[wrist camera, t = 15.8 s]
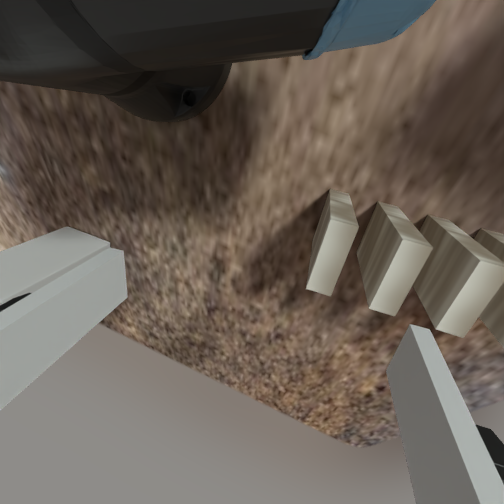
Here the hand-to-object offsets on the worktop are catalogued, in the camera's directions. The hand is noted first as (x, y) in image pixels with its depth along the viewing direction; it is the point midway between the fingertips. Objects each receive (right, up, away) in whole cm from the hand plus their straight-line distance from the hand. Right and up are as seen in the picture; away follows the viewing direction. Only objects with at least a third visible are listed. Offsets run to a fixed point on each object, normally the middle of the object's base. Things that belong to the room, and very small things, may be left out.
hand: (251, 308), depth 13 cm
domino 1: (+9, +6, +18) cm, 21 cm away
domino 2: (+13, +5, +17) cm, 22 cm away
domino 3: (+18, +3, +17) cm, 25 cm away
